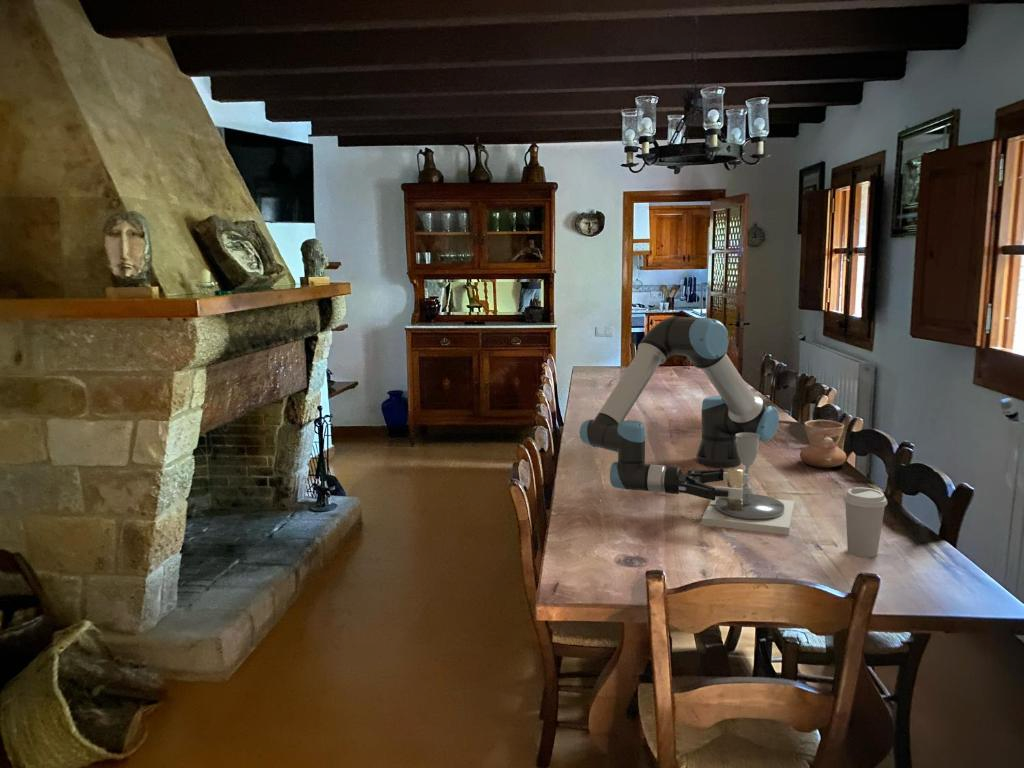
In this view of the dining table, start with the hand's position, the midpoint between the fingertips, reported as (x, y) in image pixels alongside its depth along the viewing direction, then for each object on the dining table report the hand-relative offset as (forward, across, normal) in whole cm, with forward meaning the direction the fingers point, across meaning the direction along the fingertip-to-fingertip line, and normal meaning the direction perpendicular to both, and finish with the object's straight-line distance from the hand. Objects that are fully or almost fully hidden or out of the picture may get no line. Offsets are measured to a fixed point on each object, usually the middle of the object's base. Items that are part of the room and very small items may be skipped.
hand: (745, 486), depth 201 cm
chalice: (-2, -25, -10) cm, 27 cm away
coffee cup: (+29, +12, -10) cm, 33 cm away
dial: (+1, -5, -8) cm, 9 cm away
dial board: (+1, -5, -10) cm, 11 cm away
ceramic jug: (+18, -64, -10) cm, 67 cm away
